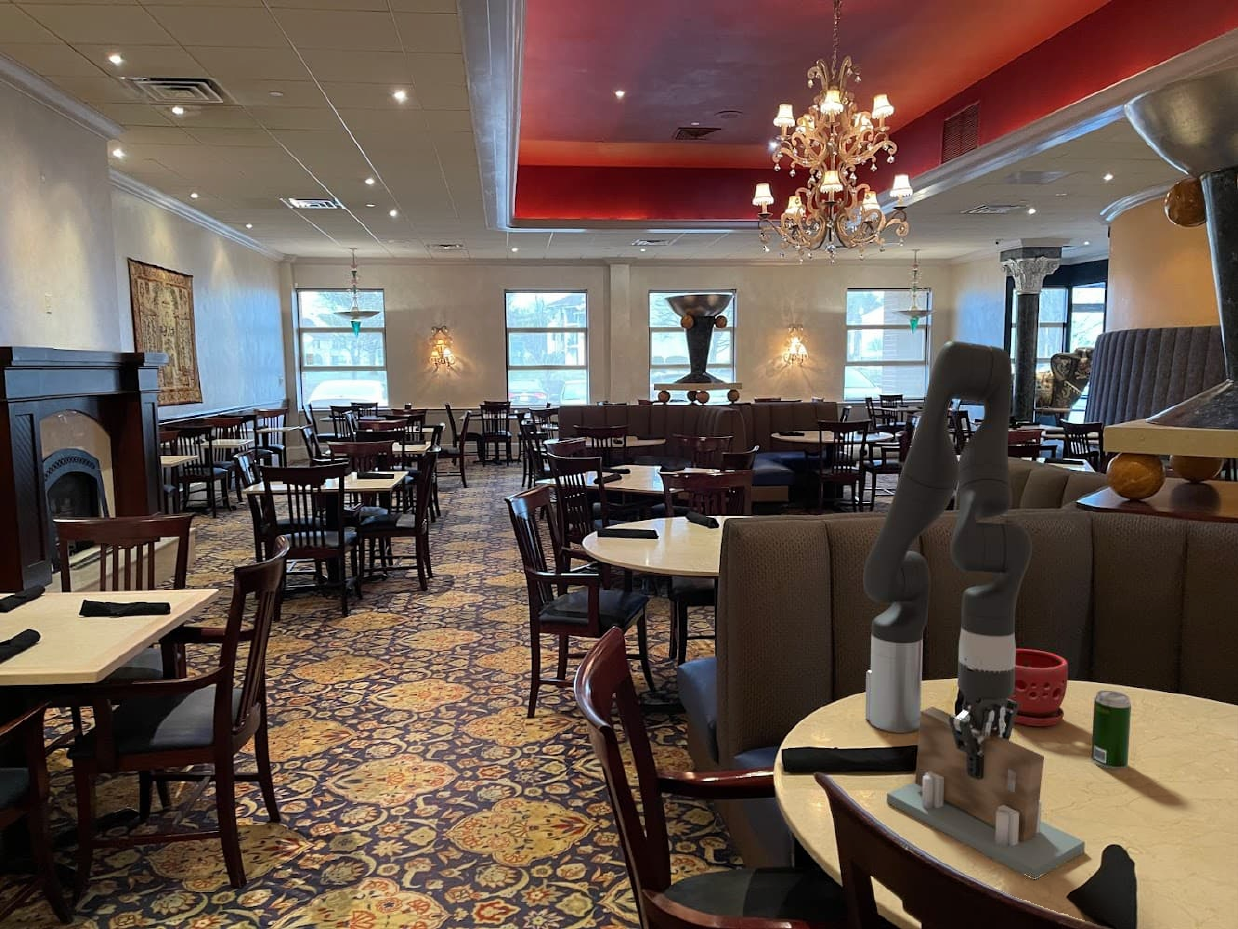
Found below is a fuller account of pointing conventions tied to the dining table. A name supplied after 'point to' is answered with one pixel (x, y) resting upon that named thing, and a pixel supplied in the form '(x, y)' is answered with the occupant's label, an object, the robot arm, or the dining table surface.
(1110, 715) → the beer can
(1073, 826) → the dining table surface
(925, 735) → the wooden board
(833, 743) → the dining table surface
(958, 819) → the pegged base plate
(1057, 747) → the dining table surface
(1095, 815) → the dining table surface
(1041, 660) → the plant pot
